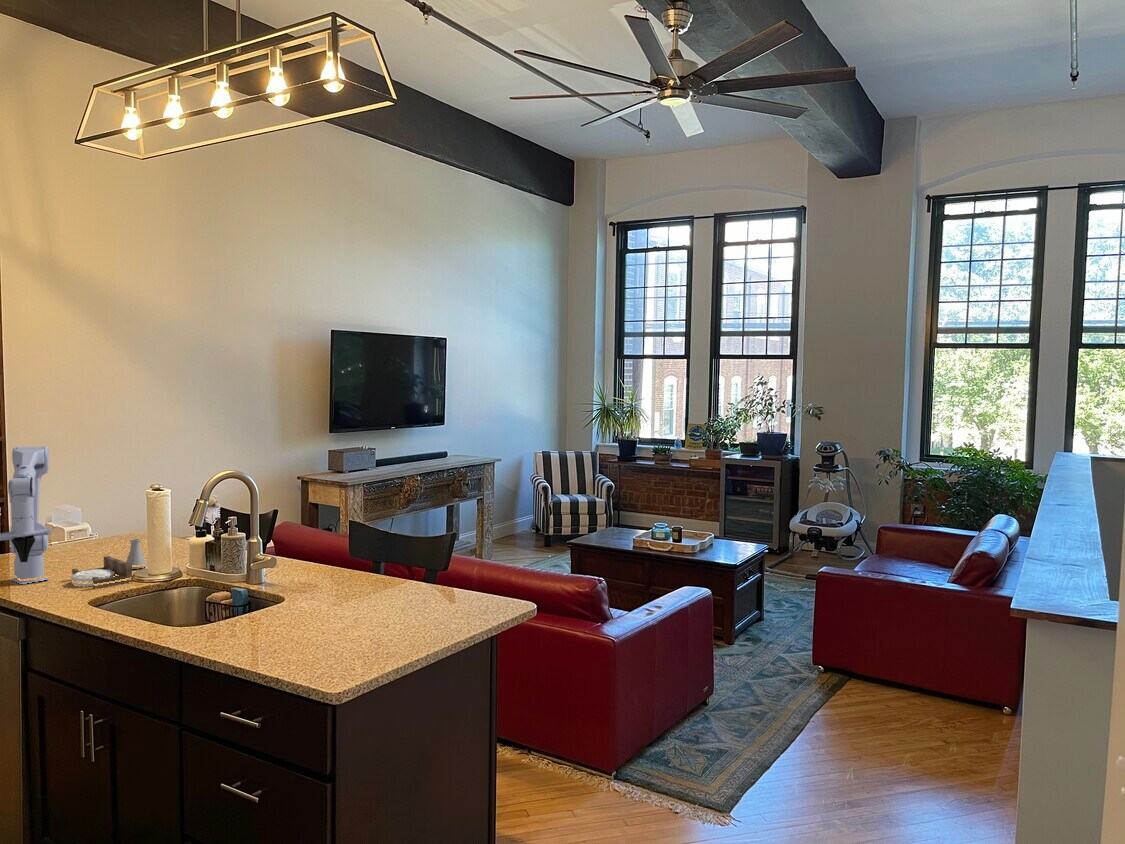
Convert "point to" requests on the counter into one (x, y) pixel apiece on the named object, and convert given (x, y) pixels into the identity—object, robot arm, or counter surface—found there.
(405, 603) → the counter surface
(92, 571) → the mooncake
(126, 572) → the lid holder
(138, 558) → the flask
